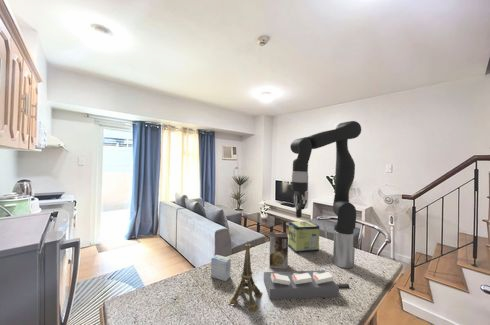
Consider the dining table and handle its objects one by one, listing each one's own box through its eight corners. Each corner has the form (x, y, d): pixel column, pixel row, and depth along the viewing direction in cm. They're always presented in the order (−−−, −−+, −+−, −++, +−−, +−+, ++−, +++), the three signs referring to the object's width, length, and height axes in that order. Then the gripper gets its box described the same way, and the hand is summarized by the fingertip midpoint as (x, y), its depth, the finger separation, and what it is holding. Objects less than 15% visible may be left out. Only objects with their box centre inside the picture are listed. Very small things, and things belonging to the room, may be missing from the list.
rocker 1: (286, 279, 84) (287, 275, 84) (289, 285, 80) (290, 280, 80) (270, 277, 83) (271, 273, 83) (272, 282, 80) (273, 278, 80)
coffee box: (286, 263, 107) (287, 232, 106) (287, 269, 100) (288, 237, 100) (268, 261, 108) (269, 231, 107) (269, 268, 101) (270, 235, 101)
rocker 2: (308, 276, 85) (308, 272, 85) (312, 281, 81) (311, 277, 81) (292, 279, 84) (291, 275, 84) (295, 284, 81) (294, 280, 81)
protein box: (287, 246, 128) (288, 221, 128) (309, 244, 132) (310, 220, 132) (295, 253, 118) (296, 227, 118) (319, 251, 122) (320, 225, 122)
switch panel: (340, 278, 94) (340, 268, 94) (357, 296, 82) (357, 284, 82) (263, 281, 90) (263, 270, 90) (269, 299, 78) (270, 287, 78)
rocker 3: (328, 275, 86) (328, 271, 86) (333, 280, 82) (332, 276, 82) (313, 279, 85) (312, 275, 85) (317, 284, 82) (316, 280, 82)
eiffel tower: (256, 312, 71) (258, 241, 71) (228, 304, 75) (230, 237, 74) (262, 293, 82) (264, 231, 81) (237, 287, 85) (239, 228, 84)
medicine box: (230, 277, 92) (231, 258, 92) (225, 282, 88) (226, 262, 88) (216, 272, 96) (216, 254, 96) (210, 277, 92) (211, 258, 92)
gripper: (313, 182, 90) (312, 221, 90) (302, 179, 103) (301, 213, 103) (297, 182, 89) (295, 221, 89) (287, 179, 102) (286, 213, 103)
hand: (298, 217), depth 96 cm, fingers closed
